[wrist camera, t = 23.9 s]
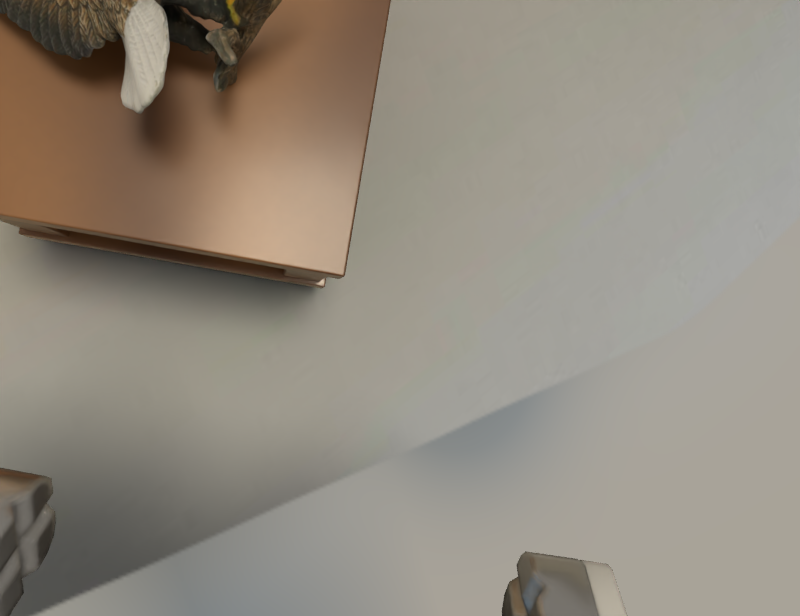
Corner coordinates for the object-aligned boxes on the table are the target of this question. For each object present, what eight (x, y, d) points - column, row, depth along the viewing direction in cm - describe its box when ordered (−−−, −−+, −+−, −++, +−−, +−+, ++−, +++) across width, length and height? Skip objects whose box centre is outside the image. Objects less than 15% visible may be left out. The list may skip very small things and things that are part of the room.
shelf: (374, -36, 31) (424, -200, 21) (318, 290, 30) (344, 276, 20) (111, -110, 29) (31, -333, 19) (43, 242, 28) (-76, 201, 18)
